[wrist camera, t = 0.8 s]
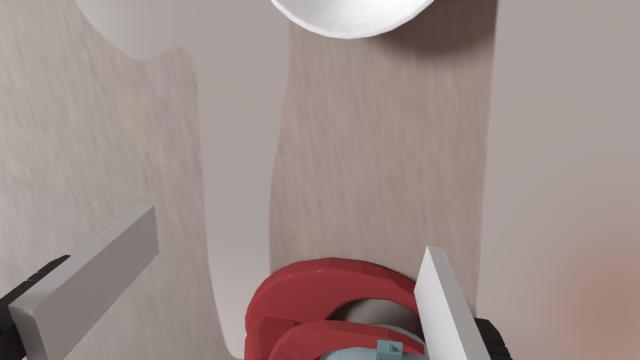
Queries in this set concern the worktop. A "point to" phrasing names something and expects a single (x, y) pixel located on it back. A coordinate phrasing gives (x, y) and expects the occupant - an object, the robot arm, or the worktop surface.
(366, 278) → the stand mixer
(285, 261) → the worktop surface
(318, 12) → the bowl
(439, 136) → the worktop surface
